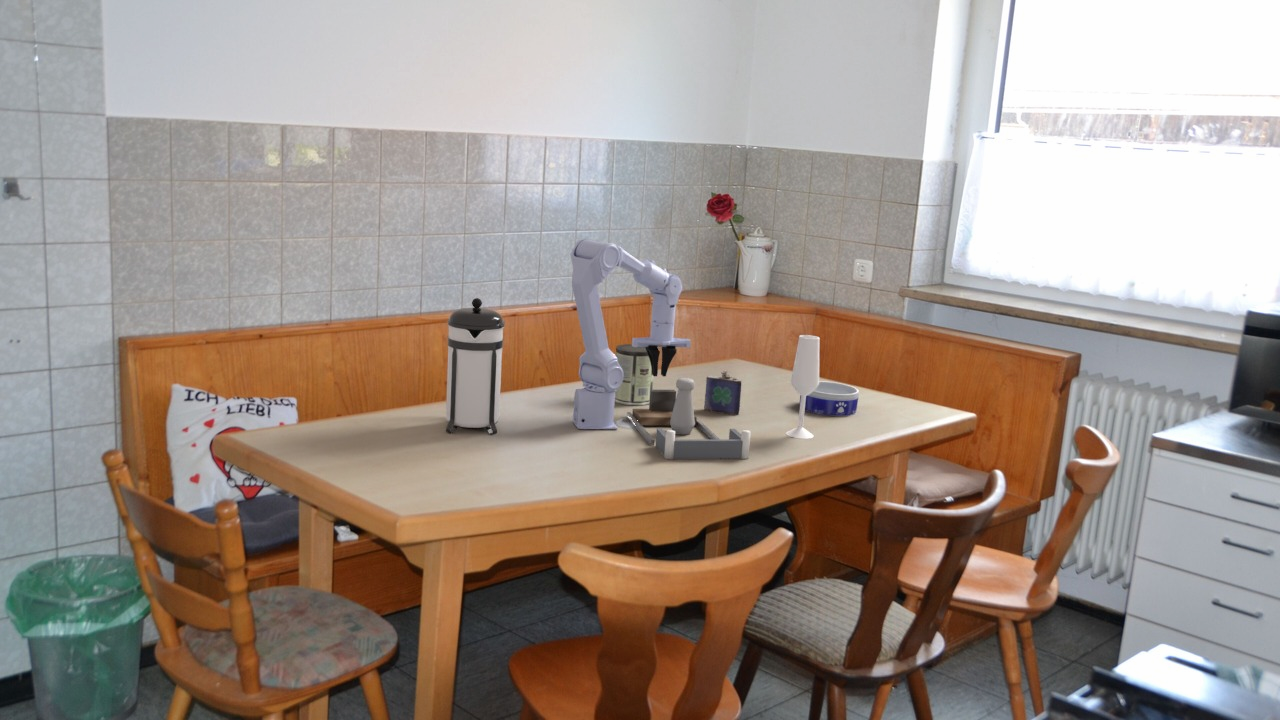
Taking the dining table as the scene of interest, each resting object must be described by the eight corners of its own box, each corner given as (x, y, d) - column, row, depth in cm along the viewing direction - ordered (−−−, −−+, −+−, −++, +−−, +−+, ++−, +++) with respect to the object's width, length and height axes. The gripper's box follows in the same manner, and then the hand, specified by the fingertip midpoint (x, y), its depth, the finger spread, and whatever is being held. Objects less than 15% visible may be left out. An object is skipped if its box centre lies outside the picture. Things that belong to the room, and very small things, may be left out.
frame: (665, 459, 237) (667, 432, 236) (653, 445, 247) (655, 420, 246) (749, 458, 242) (752, 432, 241) (734, 445, 251) (737, 420, 250)
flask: (702, 410, 281) (706, 369, 279) (705, 408, 284) (709, 367, 282) (737, 415, 279) (741, 374, 276) (740, 413, 281) (744, 372, 279)
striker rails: (650, 445, 247) (651, 440, 247) (626, 416, 270) (626, 411, 270) (720, 445, 251) (720, 440, 251) (690, 416, 274) (690, 412, 274)
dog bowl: (839, 401, 302) (841, 380, 301) (867, 416, 288) (869, 394, 287) (789, 402, 297) (791, 380, 296) (815, 417, 283) (817, 394, 282)
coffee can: (626, 393, 294) (630, 342, 291) (659, 401, 288) (663, 348, 285) (604, 400, 285) (608, 347, 282) (638, 407, 280) (641, 353, 277)
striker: (639, 425, 262) (641, 396, 260) (632, 416, 270) (634, 388, 268) (696, 425, 265) (698, 397, 264) (686, 416, 273) (689, 389, 271)
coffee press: (522, 429, 252) (528, 300, 246) (466, 440, 241) (471, 305, 235) (474, 413, 264) (479, 289, 258) (419, 423, 252) (423, 293, 246)
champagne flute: (797, 429, 269) (806, 333, 264) (819, 436, 265) (829, 338, 260) (779, 433, 265) (789, 335, 260) (802, 440, 260) (812, 340, 255)
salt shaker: (691, 437, 256) (696, 382, 253) (667, 434, 257) (671, 380, 254) (695, 430, 262) (699, 377, 259) (671, 427, 263) (675, 375, 260)
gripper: (638, 324, 264) (635, 379, 267) (696, 325, 268) (691, 379, 271) (631, 318, 271) (627, 372, 273) (687, 319, 275) (683, 372, 277)
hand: (659, 375), depth 273 cm, fingers closed
